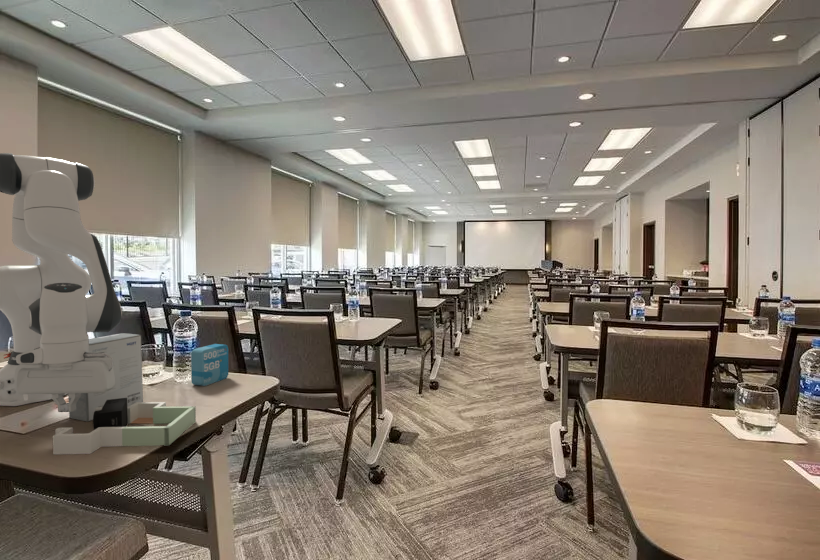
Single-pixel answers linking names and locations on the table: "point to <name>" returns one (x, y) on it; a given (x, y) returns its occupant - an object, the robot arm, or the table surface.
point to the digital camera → (111, 414)
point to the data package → (209, 364)
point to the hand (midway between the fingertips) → (67, 411)
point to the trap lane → (130, 429)
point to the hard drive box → (115, 374)
